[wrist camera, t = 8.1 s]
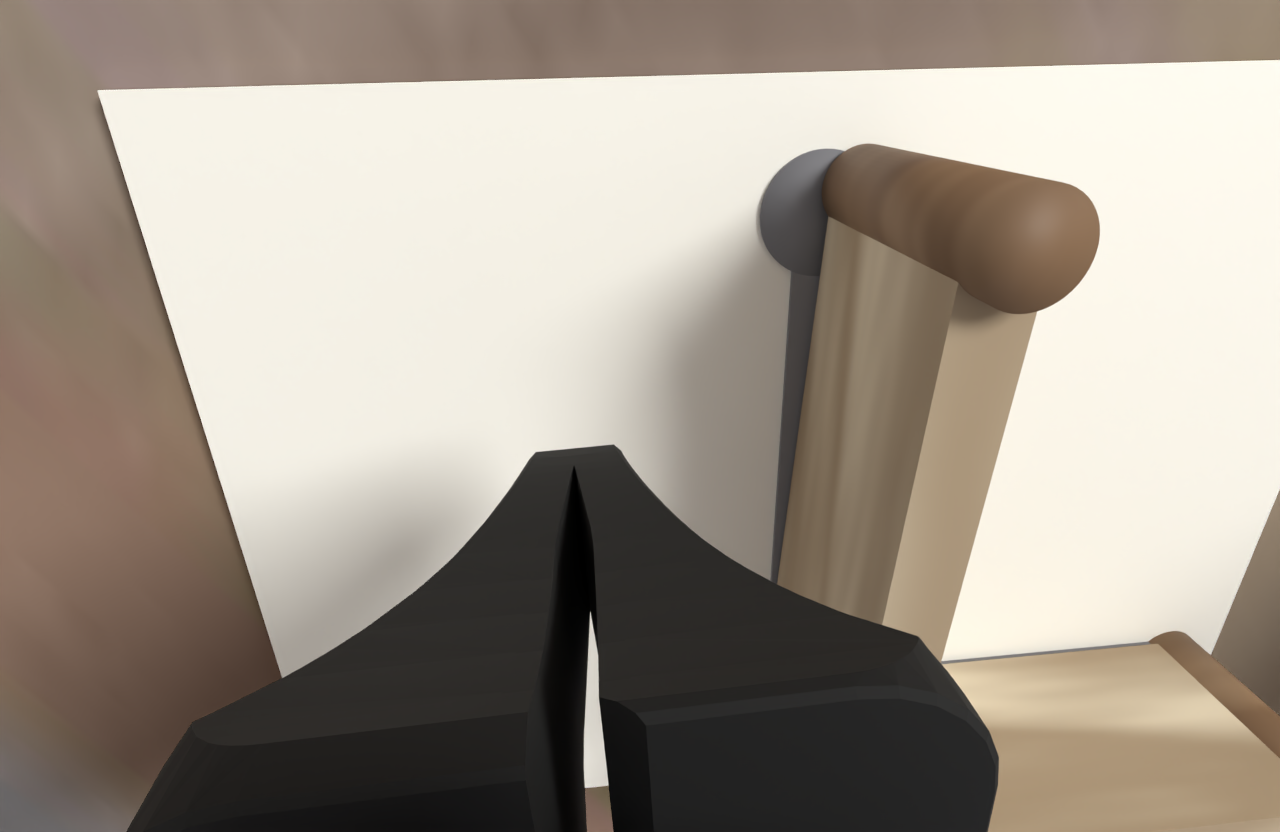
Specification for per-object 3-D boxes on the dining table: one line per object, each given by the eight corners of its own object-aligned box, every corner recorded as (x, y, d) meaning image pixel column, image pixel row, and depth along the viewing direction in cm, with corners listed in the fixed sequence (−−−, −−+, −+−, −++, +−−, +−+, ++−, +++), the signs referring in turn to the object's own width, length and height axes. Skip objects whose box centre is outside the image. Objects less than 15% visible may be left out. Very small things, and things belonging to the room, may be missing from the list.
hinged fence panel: (760, 648, 18) (834, 859, 13) (828, 142, 13) (988, 180, 8) (820, 645, 18) (916, 852, 14) (910, 144, 13) (1117, 182, 8)
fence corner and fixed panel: (1171, 669, 21) (1384, 874, 16) (740, 712, 20) (807, 947, 15) (1192, 615, 20) (1425, 812, 15) (743, 657, 19) (816, 885, 14)
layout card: (1174, 717, 22) (1184, 727, 22) (328, 805, 20) (323, 819, 19) (1442, 55, 14) (1465, 55, 14) (107, 90, 12) (94, 89, 12)
